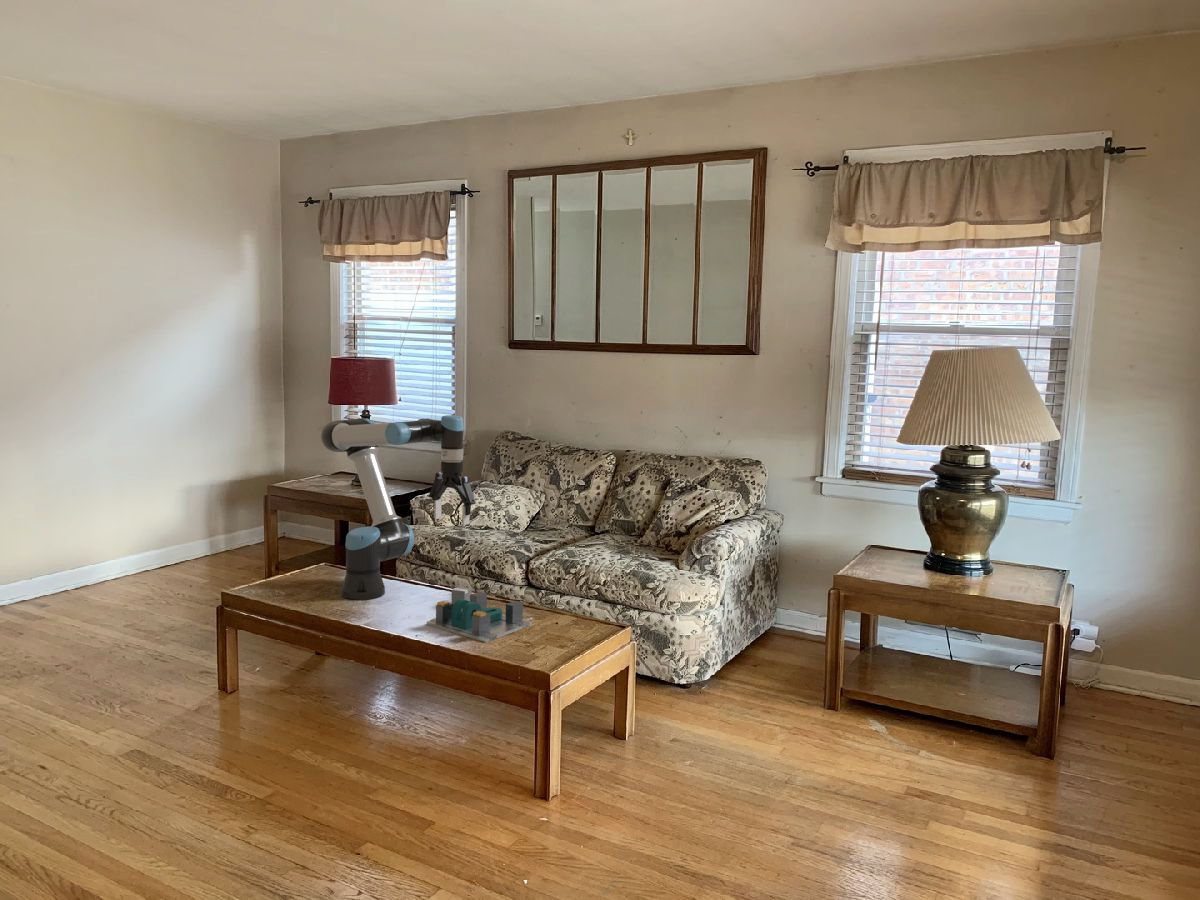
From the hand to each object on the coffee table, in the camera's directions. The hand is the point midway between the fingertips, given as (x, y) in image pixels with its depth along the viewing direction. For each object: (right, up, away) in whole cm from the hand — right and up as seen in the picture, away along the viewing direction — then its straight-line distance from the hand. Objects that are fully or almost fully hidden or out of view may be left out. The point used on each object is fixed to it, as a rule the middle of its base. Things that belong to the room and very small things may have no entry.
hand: (451, 521), depth 317 cm
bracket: (+12, -31, -20) cm, 39 cm away
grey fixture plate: (+12, -32, -20) cm, 40 cm away
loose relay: (+3, -29, 0) cm, 29 cm away
